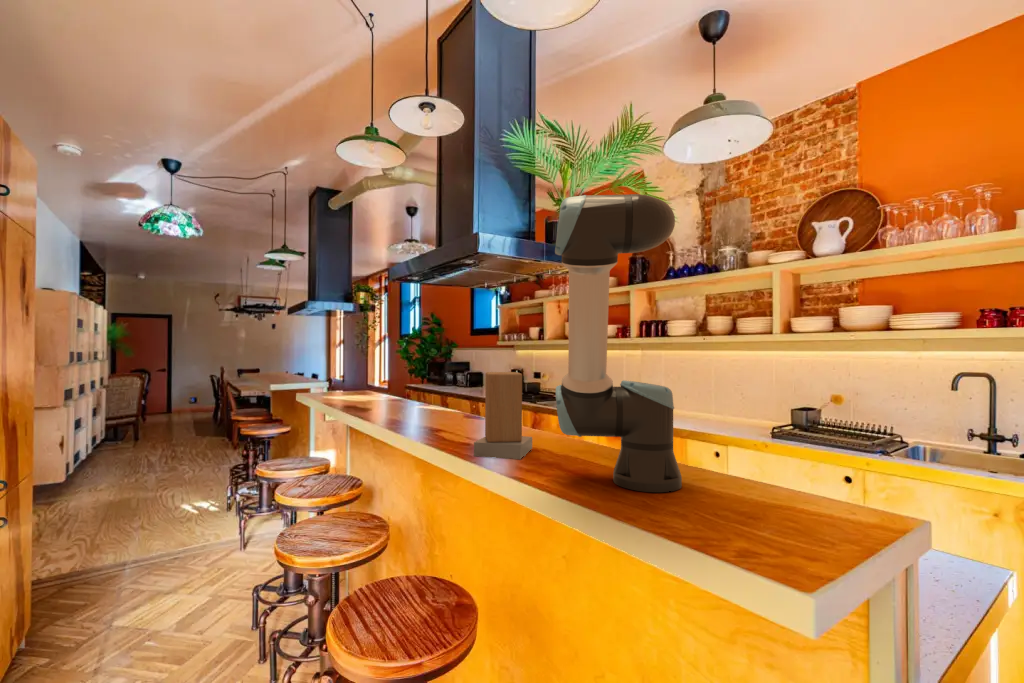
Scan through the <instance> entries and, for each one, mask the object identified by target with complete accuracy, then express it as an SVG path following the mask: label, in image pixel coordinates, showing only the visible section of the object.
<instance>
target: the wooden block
mask: <svg viewBox="0 0 1024 683" xmlns="http://www.w3.org/2000/svg"><path fill="white" fill-rule="evenodd" d="M484 390H485V394H484V395H485V396H484V397H485V402H484V403H485V404H484V405H485V408H484V409H485V410H484V414H485V415H484V416H485V417H484V418H485V419H484V421H485V422H484V423H485V424H484V437H485V436H486V439H487V441H488V442H489V443H494V442H521V441H522V436H523V435H522V434H523V374H522V373H520V372H518V371H517V372H516V371H486V372H485V389H484Z"/></svg>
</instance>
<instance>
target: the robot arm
mask: <svg viewBox="0 0 1024 683" xmlns="http://www.w3.org/2000/svg"><path fill="white" fill-rule="evenodd" d="M559 208H560V209H559V216H558V224H557V231H556V239H555V240H556V241H555V248H554V254H555V255H557V256H561V264H562V265H563V266H564V268H566V269H567V270H568V358H567V360H568V366H567V368H568V370H567V373H566V375H564V376H563V377H562V379H561V384H559V385H557V386H555V401H556V403H555V404H556V413H557V420H558V426H559V429H560V431H561V433H562V434H564V435H567V436H576V437H579V438H581V437H607V438H609V437H610V438H612V437H613V438H616V437H617V438H620V450H619V454H618V456H617V459H616V463H615V465H614V469H613V471H612V472H613V475H612V476H613V477H612V478H613V479H612V480H613V483H614V484H615V485H617V486H618V487H620V488H621V487H622V488H624V489H628V490H632V491H636V492H645V493H670V492H669V491H671V492H675V491H678V490H680V489H682V486H683V485H682V484H683V482H682V481H683V479H682V478H683V477H682V474H681V471H680V467H679V465H678V462H677V461H678V460H677V459H676V456H675V452H674V409H675V406H674V405H675V404H674V397H673V396H674V395H673V392H672V390H671V389H670V388H669V387H667V386H665V385H661V384H660V385H659V384H653V383H648V382H642V381H641V382H640V381H634V380H624V379H623V380H621V382H620V383H619V386H614V383H613V379H612V378H611V377H610V375H608V374H607V362H608V361H607V360H608V334H609V333H608V330H609V329H608V328H609V303H610V300H609V299H610V297H609V296H610V271H611V270H612V269H613V268H614V267H615V266H616V265H617V264H618V261H619V260H618V258H619V256H618V255H619V254H620V255H621V254H636V253H643V252H645V251H649V250H652V249H655V248H657V247H658V246H660V245H662V244H664V242H666V241H667V240H668V239H669V238H670V236H671V235H672V234H673V233H674V232H673V231H674V229H675V225H676V224H675V223H676V218H675V213H674V211H673V209H672V207H671V205H670V206H669V204H668V203H667V202H666V201H664V200H663V199H660V198H657V197H655V196H651V195H648V194H641V193H640V194H639V193H634V194H633V193H630V194H601V195H600V194H596V195H595V194H594V195H587V194H583V195H578V196H577V195H576V196H569V197H566V198H564V199H563V200H562V201H561V204H560V207H559Z"/></svg>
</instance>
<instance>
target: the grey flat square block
mask: <svg viewBox="0 0 1024 683" xmlns="http://www.w3.org/2000/svg"><path fill="white" fill-rule="evenodd" d="M531 449H532V450H533V436H526V435H525V436H524V435H522V441H521V442H494V443H489V442H488V441H487V439H486V436H485V435H484V436H483V437H481V438H480V439H478V440H476V441H474V442H473V456H474V457H478V456H480V457H482V458H492V457H496V459H507V458H513V459H512V460H522V459H523V458H524V457H526V456H527V455H528V454H529V453H530V452H531V451H532V450H531ZM530 450H531V451H530ZM529 451H530V452H529ZM528 452H529V453H528ZM527 453H528V454H527ZM526 454H527V455H526ZM523 456H524V457H523ZM480 457H479V458H480ZM522 457H523V458H522ZM521 458H522V459H521Z"/></svg>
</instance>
